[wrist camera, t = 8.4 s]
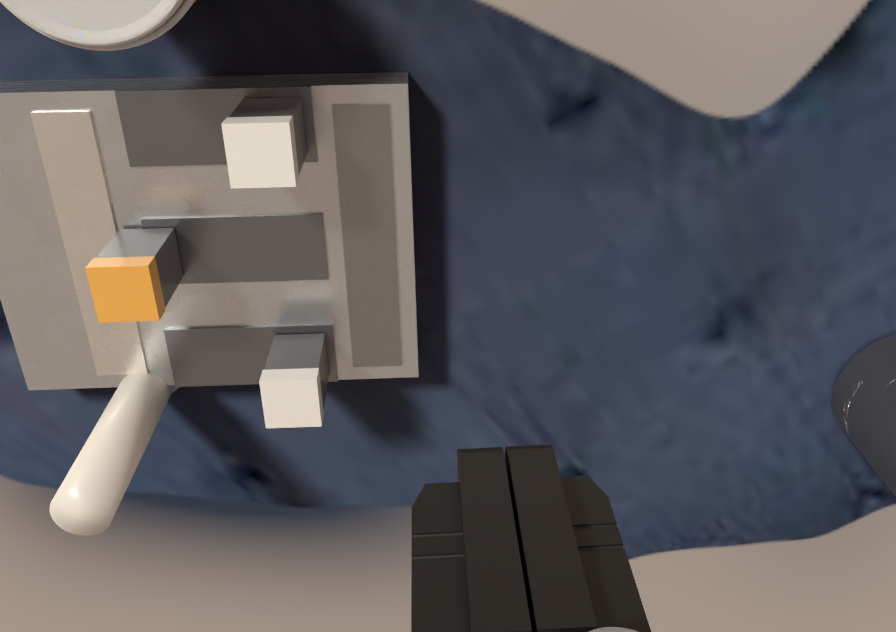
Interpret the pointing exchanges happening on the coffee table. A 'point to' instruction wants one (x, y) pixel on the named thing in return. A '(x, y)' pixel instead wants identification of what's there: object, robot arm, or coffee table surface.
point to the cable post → (110, 456)
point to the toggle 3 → (295, 381)
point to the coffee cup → (100, 20)
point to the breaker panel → (207, 228)
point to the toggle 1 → (135, 275)
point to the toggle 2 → (265, 142)
